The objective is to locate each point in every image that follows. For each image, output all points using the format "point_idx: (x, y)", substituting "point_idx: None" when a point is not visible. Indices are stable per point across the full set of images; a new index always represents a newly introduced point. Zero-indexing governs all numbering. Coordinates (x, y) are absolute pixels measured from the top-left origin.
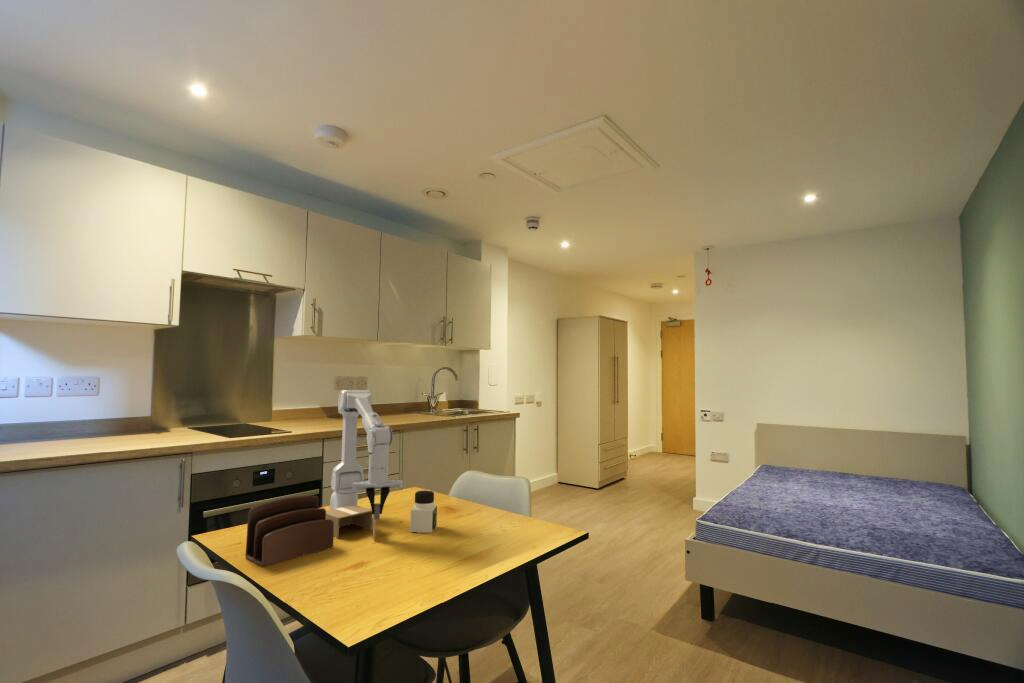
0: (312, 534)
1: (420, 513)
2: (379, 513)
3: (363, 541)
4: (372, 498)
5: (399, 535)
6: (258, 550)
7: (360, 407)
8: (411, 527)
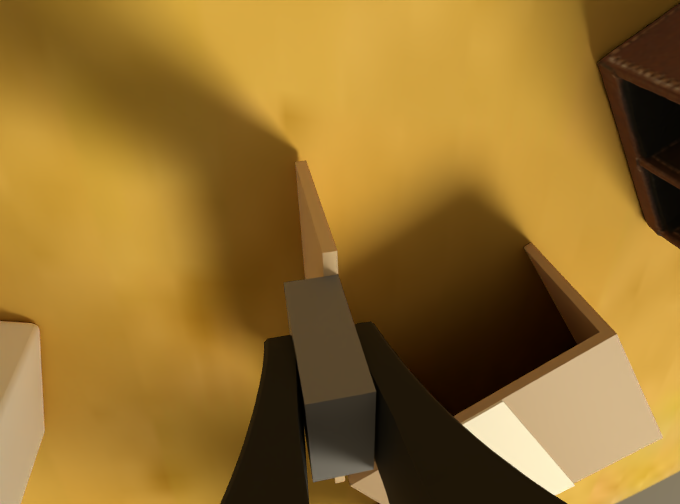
0: None
1: None
2: (293, 325)
3: (378, 170)
4: (455, 478)
5: (114, 272)
6: None
7: None
8: (15, 349)
